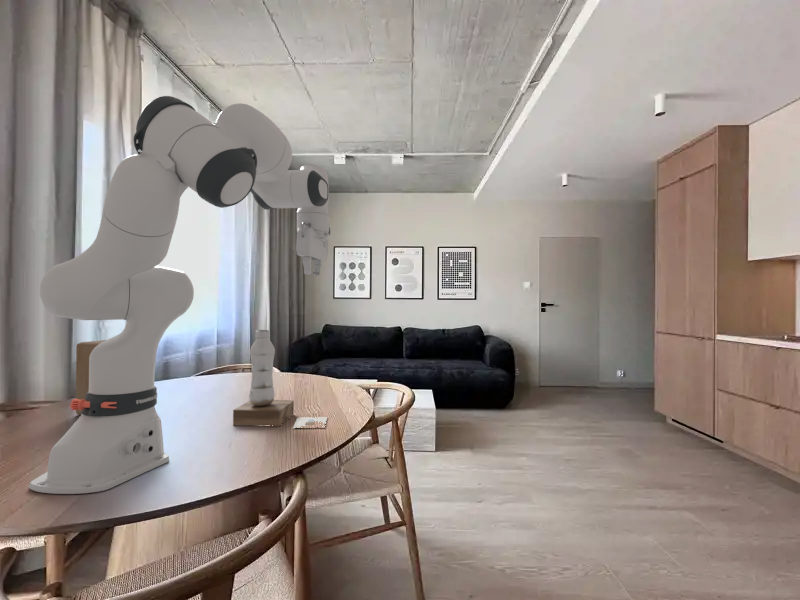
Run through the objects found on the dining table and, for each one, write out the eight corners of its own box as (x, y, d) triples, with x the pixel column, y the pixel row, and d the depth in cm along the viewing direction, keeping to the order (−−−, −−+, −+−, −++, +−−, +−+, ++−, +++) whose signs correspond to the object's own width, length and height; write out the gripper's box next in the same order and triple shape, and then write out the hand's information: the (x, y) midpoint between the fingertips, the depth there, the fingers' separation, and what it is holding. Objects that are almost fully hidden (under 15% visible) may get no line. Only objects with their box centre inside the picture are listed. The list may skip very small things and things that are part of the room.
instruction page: (325, 428, 112) (325, 426, 112) (292, 429, 111) (292, 427, 111) (327, 417, 122) (327, 416, 122) (297, 418, 121) (297, 417, 121)
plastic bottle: (244, 407, 116) (245, 331, 116) (256, 402, 123) (257, 329, 123) (267, 409, 115) (268, 331, 115) (278, 403, 122) (279, 329, 122)
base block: (279, 426, 113) (279, 411, 113) (233, 425, 114) (233, 409, 114) (293, 414, 125) (293, 400, 125) (251, 413, 126) (251, 399, 126)
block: (73, 415, 122) (74, 342, 122) (107, 407, 131) (108, 339, 131) (101, 418, 119) (102, 343, 119) (134, 410, 129) (134, 340, 129)
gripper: (314, 219, 114) (314, 273, 114) (331, 231, 134) (331, 277, 134) (290, 219, 114) (289, 272, 114) (311, 231, 135) (310, 277, 135)
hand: (312, 275), depth 125 cm, fingers open, 8 cm apart
